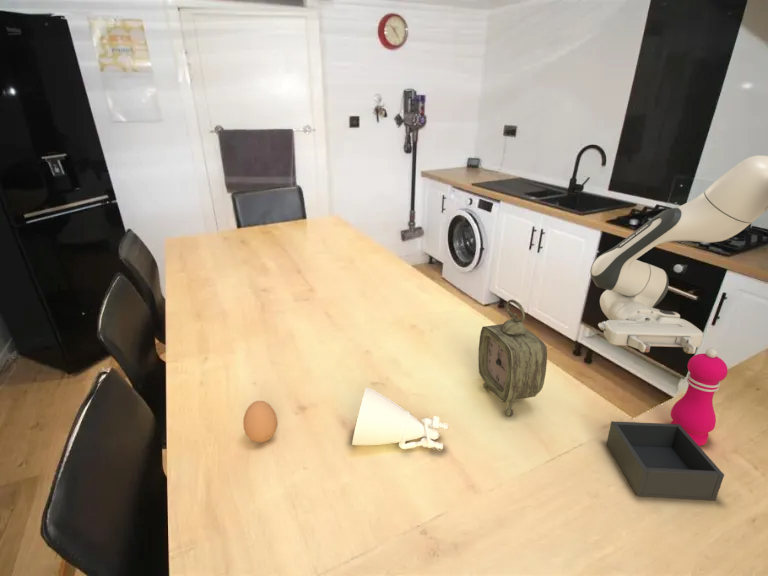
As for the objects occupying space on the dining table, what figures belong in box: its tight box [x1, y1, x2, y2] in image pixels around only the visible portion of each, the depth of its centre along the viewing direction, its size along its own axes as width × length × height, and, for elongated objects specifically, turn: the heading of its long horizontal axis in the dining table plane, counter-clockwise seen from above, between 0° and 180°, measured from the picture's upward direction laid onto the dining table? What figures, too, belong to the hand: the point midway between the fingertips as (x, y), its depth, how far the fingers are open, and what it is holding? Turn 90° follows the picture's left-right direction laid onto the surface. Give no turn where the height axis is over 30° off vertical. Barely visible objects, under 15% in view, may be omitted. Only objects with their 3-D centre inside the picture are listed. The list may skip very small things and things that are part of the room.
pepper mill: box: [670, 347, 729, 447], centre depth 80 cm, size 7×7×20 cm
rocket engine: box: [351, 386, 449, 451], centre depth 82 cm, size 12×12×18 cm
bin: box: [606, 420, 725, 501], centre depth 74 cm, size 13×13×6 cm
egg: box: [242, 400, 278, 443], centre depth 84 cm, size 7×7×9 cm
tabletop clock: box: [477, 299, 548, 417], centre depth 92 cm, size 14×9×25 cm, turn 14°
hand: (669, 350), depth 90 cm, fingers open, 8 cm apart
